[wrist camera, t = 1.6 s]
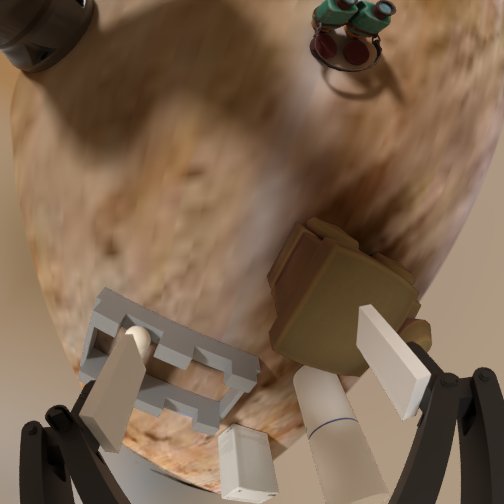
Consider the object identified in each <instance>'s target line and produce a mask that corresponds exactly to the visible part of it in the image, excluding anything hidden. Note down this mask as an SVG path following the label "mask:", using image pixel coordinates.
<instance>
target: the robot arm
mask: <svg viewBox="0 0 504 504" xmlns="http://www.w3.org/2000/svg"><path fill="white" fill-rule="evenodd" d="M92 13H93V1H92V0H0V50H1V51H2V52H3V54H4V55H5V56H6V57H7V58H8V59H9V61H10V62H11V63H12V64H13V65H14V66H15V67H16V68H18V69H20V70H23V71H26V72H39V71H42V70H44V69H47V68H49V67H50V66H52V65H54V64H55V63H57V62H58V61H59V60H61V59H62V58H63V57H64V56H65V55H66V54H67V53H68V52H69V51H70V50H71V49H72V48H73V47H74V46H75V45H76V43H77V42H78V41H79V40H80V38H81V37H82V35H83V34H84V32H85V30H86V29H87V27H88V25H89V22H90V20H91V17H92ZM356 345H357V347H358V349H359V350H360V352H361V353H362V355H363V357H364V358H365V360H366V361H367V363H368V365H369V366H370V368H371V369H372V371H373V372H374V374H375V375H376V377H377V379H378V381H379V382H380V384H381V386H382V387H383V389H384V391H385V392H386V394H387V395H388V397H389V399H390V400H391V402H392V404H393V406H394V407H395V409H396V411H397V412H398V414H399V415H400V417H401V419H402V421H403V420H405V419H408V418H410V417H413V416H416V414H417V411H418V409H419V408H420V409H421V411H422V412H423V413H422V416H421V418H420V420H419V422H418V424H417V426H418V429H417V432H416V435H415V438H414V441H413V444H412V447H411V450H410V453H409V456H408V458H407V461H406V464H405V467H404V469H403V471H402V474H401V476H400V479H399V481H398V483H397V486H396V488H395V490H394V493H393V495H392V497H391V499H390V501H389V503H388V504H435V503H436V500H437V497H438V494H439V491H440V488H441V485H442V481H443V478H444V474H445V471H446V467H447V463H448V459H449V455H450V451H451V446H452V441H453V436H454V431H455V425H456V420H457V423H458V432H459V444H460V458H461V504H504V399H503V396H502V393H501V390H500V387H499V383H498V380H497V377H496V375H495V373H494V372H493V371H492V370H491V369H489V368H484V367H481V368H478V369H477V370H475V372H474V374H473V376H472V377H468V378H459V377H458V376H456V375H455V374H452V373H444V372H443V371H442V370H441V368H440V367H439V366H438V365H437V364H436V363H435V362H434V360H433V359H432V358H431V357H429V355H428V354H427V353H426V352H425V350H424V349H423V348H422V347H421V346H420V345H418V344H417V343H415V342H413V341H411V342H407V343H405V342H404V341H403V340H402V339H401V338H400V336H399V335H398V334H397V333H396V332H395V331H394V330H393V328H392V327H391V326H390V325H389V324H388V323H387V322H386V321H385V319H384V318H383V317H382V316H381V315H380V314H379V313H378V312H377V310H376V309H375V308H374V307H373V306H372V305H371V304H370V305H365V306H360V307H359V318H358V330H357V341H356ZM145 372H146V368H145V366H144V363H143V361H142V358H141V355H140V353H139V350H138V347H137V345H136V342H135V339H134V336H133V334H121V336H120V338H119V340H118V341H117V343H116V345H115V347H114V348H113V350H112V352H111V354H110V356H109V358H108V359H107V361H106V363H105V365H104V367H103V369H102V370H101V372H100V374H99V376H98V378H97V380H91V381H89V382H88V383H87V384H86V385H85V386H84V388H83V390H82V392H81V394H80V395H79V398H78V399H77V401H76V403H75V405H74V407H73V409H72V411H71V413H70V412H69V410H68V409H67V407H66V406H63V405H56V406H53V407H51V408H50V409H49V410H48V411H47V413H46V415H45V419H46V421H47V422H48V424H49V425H50V426H51V427H44V428H43V427H42V425H41V424H40V423H39V422H37V421H30V422H28V423H27V424H25V425H24V427H23V428H22V432H21V444H20V467H19V472H20V473H19V481H20V482H19V485H20V504H75V502H74V497H73V491H72V485H71V478H72V481H73V483H74V485H75V488H76V489H77V492H78V494H79V496H80V498H81V500H82V502H83V504H131V503H130V501H129V500H128V498H127V497H126V496H125V494H124V493H123V491H122V489H121V488H120V486H119V485H118V483H117V482H116V480H115V478H114V476H113V475H112V473H111V471H110V470H109V468H108V466H107V464H106V463H105V461H104V459H103V457H102V456H101V454H100V452H99V451H98V449H99V446H100V445H101V447H102V448H103V449H104V450H105V451H106V452H113V453H119V451H120V447H121V444H122V441H123V438H124V435H125V431H126V428H127V425H128V422H129V419H130V416H131V413H132V410H133V407H134V404H135V401H136V398H137V395H138V392H139V389H140V386H141V383H142V380H143V378H144V375H145ZM70 476H71V478H70Z"/></svg>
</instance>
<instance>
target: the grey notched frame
mask: <svg viewBox="0 0 504 504" xmlns="http://www.w3.org/2000/svg"><path fill="white" fill-rule="evenodd" d="M132 326H141V327H143V328H145V329H146V330H147V331H148V333H149V334H150V338H151V341H152V342H154V343H156V344H158V345H157V348H156V351H155V353H154V356H153V357H155V358H158V359H160V360H162V361H164V362H167V363H169V364H171V365H174V366H176V367H178V368H181V369H183V370H186V369H187V367H188V365H189V363H190V362H191V360H192V359H193V360H195V361H198V362H200V363H203V364H205V365H208V366H210V367H213V368H215V369H218V370H221V371H223V372H224V385H225V386H228V387H231V388H230V389H229V391H228V392H227V393H226V395H225V396H224V397H223V399H222V400H221V401H220V402H217V401H214V400H212V399H209V398H206V397H203V396H200V395H197V394H195V393H192V392H189V391H187V390H184V389H182V388H179V387H176V386H174V385H171V384H169V383H167V382H164V381H162V380H159V379H157V378H155V377H153V376H150V375H148V374H146V373H145V375H144V378H143V380H142V383H141V386H140V389H139V392H138V395H137V398H136V401H135V404H134V408H136V409H139V410H141V411H143V412H146V413H148V414H151V415H153V416H156V417H158V418H159V416H160V414H161V412H162V411H163V408H164V407H165V408H167V409H170V410H172V411H175V412H178V413H181V414H183V415H186V416H189V417H192V418H193V419H192V428H191V429H192V430H195V431H198V432H202V433H205V434H208V435H212V436H213V435H214V434H215V433H216V432H217V431H218V430H219V423H220V422H221V421H222V419H223V418H224V417H225V416H226V414H227V413H228V412H229V411H230V410H231V408H232V407H233V406H234V405H235V403H236V402H237V401H238V400H239V398H240V397H241V396H242V395H243V393H244V392H246V393H249V392H250V391H251V390H252V388H253V387H254V386H255V385H256V383H257V377H256V376H257V375H258V374H259V372H260V364H259V357H257V356H254V355H252V354H249V353H246V352H244V351H241V350H239V349H236V348H234V347H231V346H229V345H226V344H224V343H221V342H219V341H217V340H214V339H212V338H209V337H207V336H205V335H202V334H200V333H198V332H196V331H193V330H191V329H189V328H187V327H184V326H182V325H180V324H178V323H176V322H173V321H171V320H169V319H167V318H165V317H163V316H161V315H159V314H157V313H155V312H153V311H150V310H148V309H146V308H144V307H142V306H140V305H138V304H136V303H135V302H133V301H131V300H129V299H127V298H125V297H123V296H121V295H119V294H117V293H115V292H114V291H112V290H110V289H108V288H106V287H105V288H104V290H103V291H102V292H101V293H100V294H99V295H98V296H97V298H96V301H95V305H94V308H93V312H92V316H91V320H90V323H89V327H88V332H87V336H86V340H85V344H84V349H83V354H82V358H81V363H80V367H81V369H80V370H79V376H78V380H79V381H81V382H83V383H85V384H87V383H88V382H89V381H91V380H97V378H98V376H99V374H100V372H101V370H102V369H103V367H104V365H105V363H106V361H107V359H108V358H109V355H107V354H105V353H103V352H101V351H99V350H97V349H95V348H94V344H95V340H96V336H97V333H98V329H99V330H101V331H103V332H105V333H107V334H108V335H110V336H112V337H114V338H115V336H116V335H117V333H118V331H119V330H120V328H121V327H123V328H125V329H127V330H128V329H129V328H130V327H132Z"/></svg>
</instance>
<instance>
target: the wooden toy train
mask: <svg viewBox="0 0 504 504" xmlns="http://www.w3.org/2000/svg"><path fill="white" fill-rule="evenodd" d="M267 278H268V282H269V285H270V287H271V294H272V296H273V298H274V300H275V305H276V311H277V316H278V317H277V319H276V320H275V322H274V324H273V326H272V328H271V329H270V331H269V336H270V341H271V346H272V350H273V351H275V352H277V353H279V354H281V355H283V356H285V357H287V358H289V359H291V360H293V361H295V362H297V363H299V364H302V365H306V366H309V367H312V368H316V369H319V370H323V371H326V372H330V373H333V374H337V375H346V376H358V377H360V376H361V375H362V374H363V373H364V372H365V371H366V370H367V369H368V368H369V367H370V366H369V365H368V363H367V361H366V360H365V358H364V357H363V355H362V353H361V352H360V350H359V349H358V347H357V345H356V341H357V330H358V318H359V307H360V306H365V305H370V304H371V305H372V306H373V307H374V308H375V309H376V310H377V312H378V313H379V314H380V315H381V316H382V317H383V318H384V319H385V321H386V322H387V323H388V324H389V325H390V326H391V327H392V328H393V330H394V331H395V332H396V333H397V334H398V335H399V336H400V338H401V339H402V340H403V341H404V342H405V343H407V342H411V341H413V342H415V343H417V344H418V345H420V346H421V347H422V348H423V349H424V350H425V352H426V353H427V352H428V351H429V350H430V348H431V345H432V340H431V328H430V324H429V323H428V322H427V321H426V320H420V319H415V317H416V315H417V313H418V311H419V309H420V307H421V305H420V303H419V302H418V301H417V299H416V298H417V296H418V294H419V292H418V291H417V290H416V289H415V288H414V287H413V286H412V285H413V284H414V282H415V276H414V275H413V274H412V273H410V272H409V271H407V270H406V269H405V268H404V267H403V266H402V265H401V264H400V263H399V262H398V261H396V260H393V259H390V258H387V257H386V256H384V255H382V254H380V253H375V254H374V255H372V257H370V256H368V255H367V254H365V253H363V252H361V251H359V244H358V241H356V240H355V239H353V238H352V237H350V236H349V235H347V234H346V233H345V232H344V231H343V230H342V229H341V228H340V227H339V226H336V225H333V224H330V223H326V222H324V221H322V220H320V219H318V218H316V217H312V218H310V219H309V220H307V223H306V227H305V226H303V225H301V224H299V223H297V222H296V224H295V225H294V227H293V229H292V231H291V233H290V235H289V237H288V239H287V240H286V242H285V244H284V246H283V248H282V250H281V251H280V253H279V255H278V257H277V259H276V261H275V262H274V264H273V266H272V268H271V270H270V272H269V273H268V275H267Z"/></svg>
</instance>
